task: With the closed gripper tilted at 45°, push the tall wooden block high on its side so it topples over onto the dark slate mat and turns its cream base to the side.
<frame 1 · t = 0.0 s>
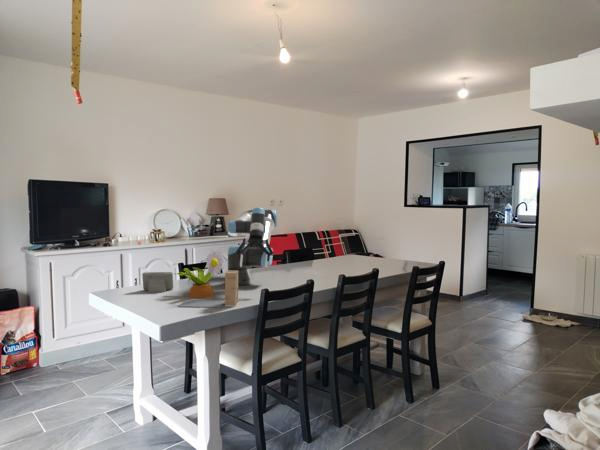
hand: (253, 266, 230), 15 cm above the table, tool tilted 35°, fingers open, 13 cm apart
slate mat: (202, 304, 207), on the table
wooden block: (231, 304, 208), on the table
digital clock: (158, 291, 237), on the table
decorative plant: (201, 295, 228), on the table
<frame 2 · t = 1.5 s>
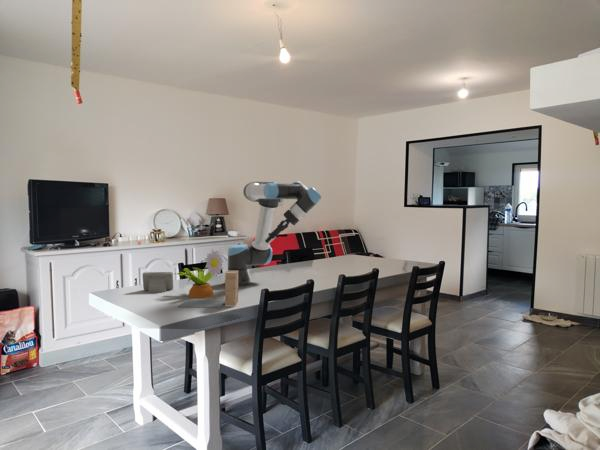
hand: (262, 245, 206), 29 cm above the table, tool tilted 45°, fingers open, 13 cm apart
nothing on the table moved.
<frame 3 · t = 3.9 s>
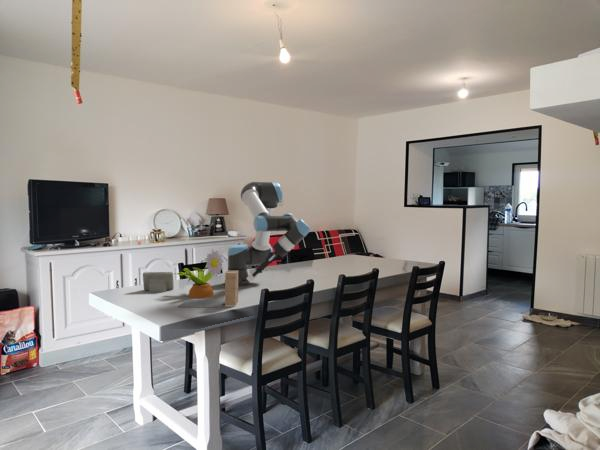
hand: (248, 280, 207), 12 cm above the table, tool tilted 45°, fingers closed
nothing on the table moved.
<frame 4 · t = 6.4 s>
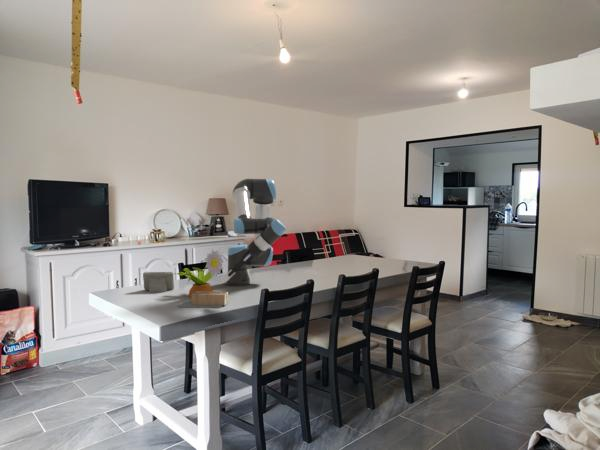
hand: (224, 279, 207), 12 cm above the table, tool tilted 45°, fingers closed
wooden block: (226, 298, 207), point 3 cm above the table, tilted 90°, touching slate mat
everything else where it was.
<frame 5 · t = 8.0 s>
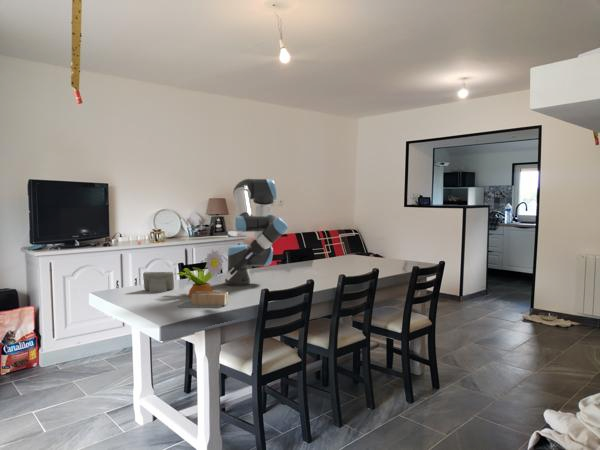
hand: (226, 278, 207), 13 cm above the table, tool tilted 45°, fingers closed
nothing on the table moved.
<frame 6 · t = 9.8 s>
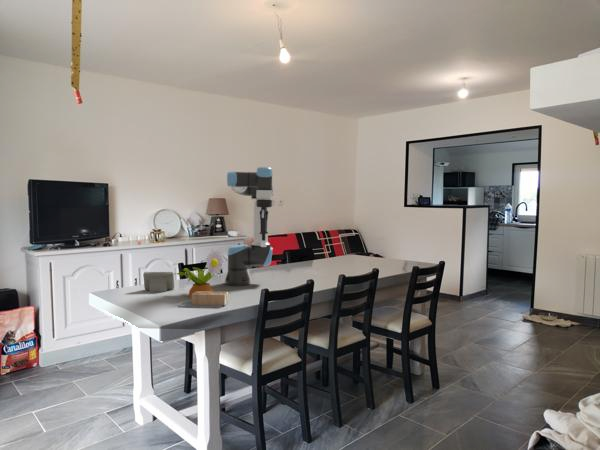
hand: (263, 246, 212), 28 cm above the table, tool pointing down, fingers closed
nothing on the table moved.
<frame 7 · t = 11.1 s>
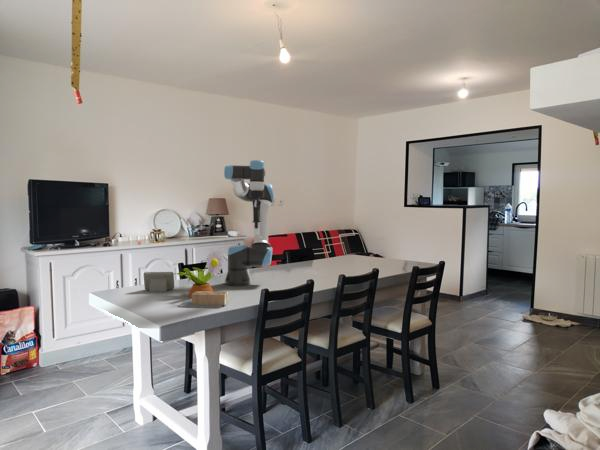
hand: (256, 234, 227), 32 cm above the table, tool pointing down, fingers closed
nothing on the table moved.
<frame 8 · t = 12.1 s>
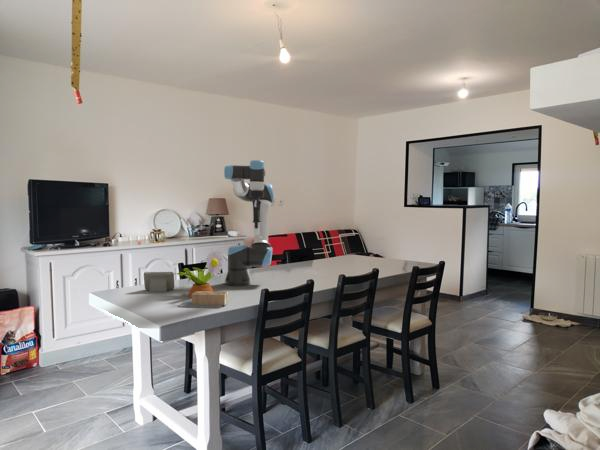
hand: (256, 234, 227), 32 cm above the table, tool pointing down, fingers closed
nothing on the table moved.
at the end: wooden block tilted 90°; wooden block touching slate mat; wooden block inside the target area (2.0 cm from its centre), point 2.9 cm above the table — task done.
